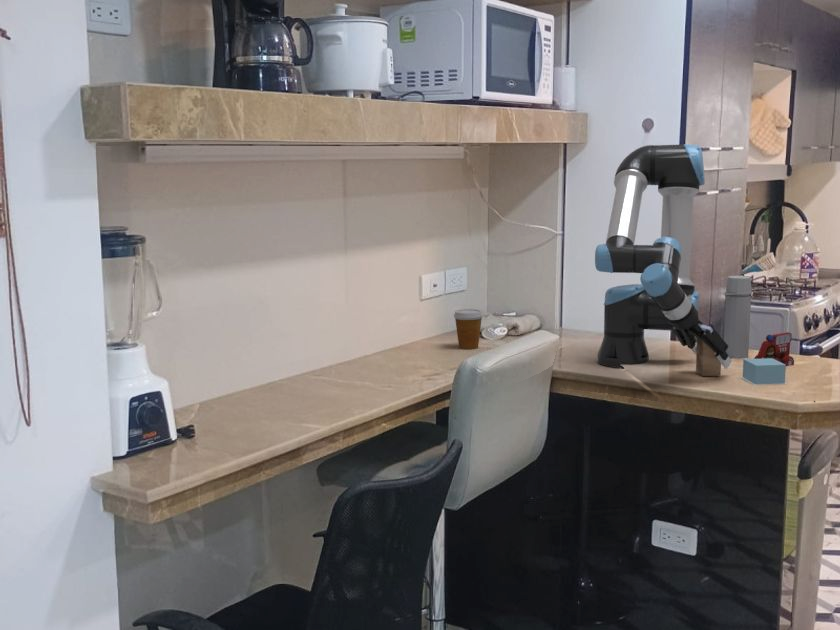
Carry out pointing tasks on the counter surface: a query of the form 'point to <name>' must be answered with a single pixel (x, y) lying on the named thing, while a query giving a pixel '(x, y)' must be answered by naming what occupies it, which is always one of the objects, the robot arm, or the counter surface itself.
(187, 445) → the counter surface
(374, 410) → the counter surface
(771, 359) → the teal block
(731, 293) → the water bottle
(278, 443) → the counter surface
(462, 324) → the disposable coffee cup
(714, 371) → the walnut block
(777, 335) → the toy fire truck
